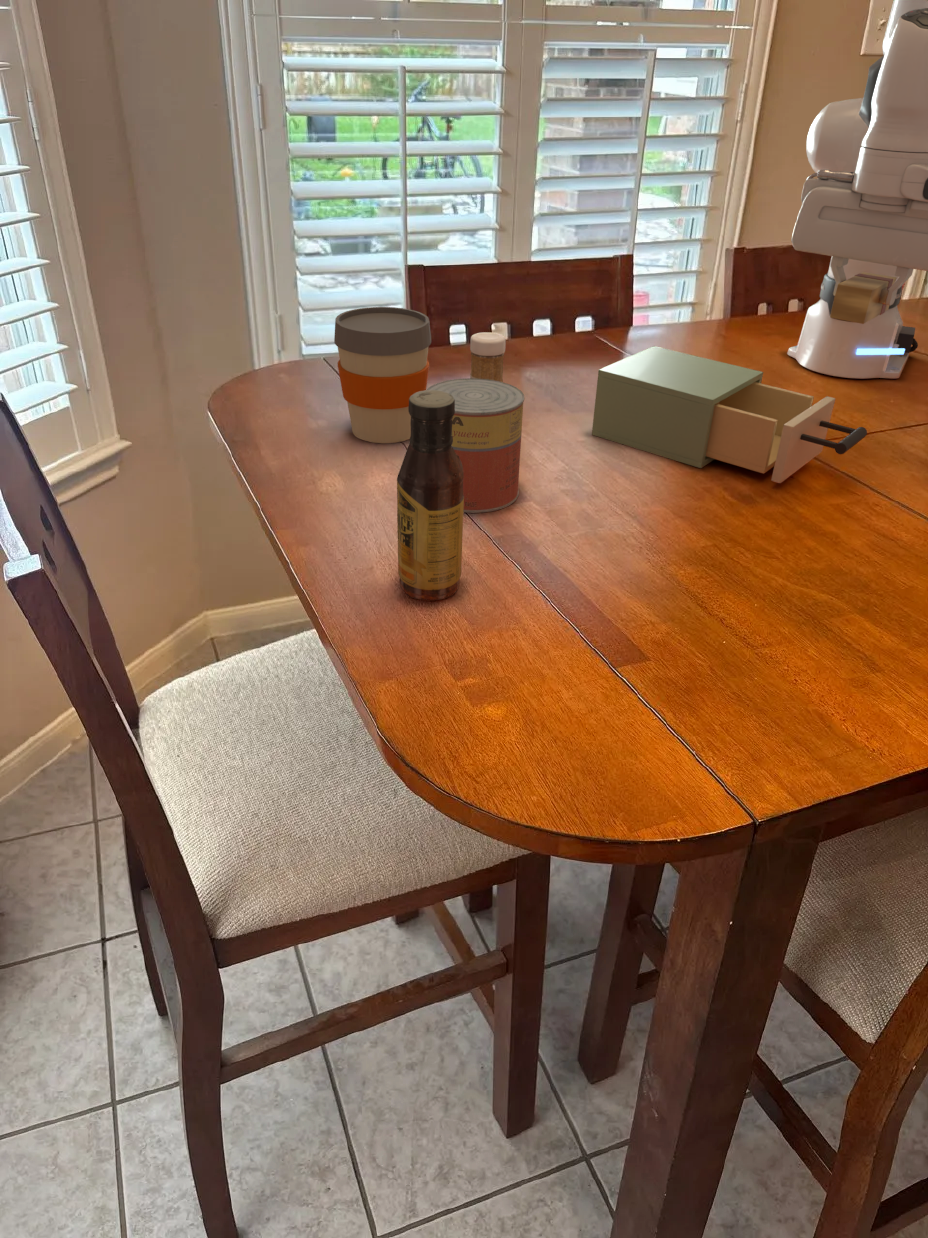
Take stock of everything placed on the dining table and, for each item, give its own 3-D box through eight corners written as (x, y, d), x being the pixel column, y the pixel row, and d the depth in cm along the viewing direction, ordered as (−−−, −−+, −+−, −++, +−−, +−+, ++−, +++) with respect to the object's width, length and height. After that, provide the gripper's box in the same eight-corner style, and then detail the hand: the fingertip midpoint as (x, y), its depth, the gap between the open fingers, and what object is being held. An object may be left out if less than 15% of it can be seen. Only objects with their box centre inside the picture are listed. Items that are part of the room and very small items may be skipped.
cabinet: (750, 436, 127) (763, 371, 122) (700, 468, 117) (713, 399, 112) (645, 407, 135) (654, 345, 130) (591, 434, 126) (598, 369, 121)
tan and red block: (854, 304, 118) (863, 271, 116) (888, 310, 116) (897, 276, 114) (828, 317, 112) (837, 283, 110) (863, 324, 110) (872, 289, 108)
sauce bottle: (397, 572, 94) (394, 382, 83) (458, 571, 94) (463, 382, 83) (399, 607, 88) (395, 408, 77) (464, 605, 89) (469, 408, 78)
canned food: (411, 480, 112) (410, 384, 106) (494, 466, 116) (498, 373, 109) (445, 519, 104) (447, 418, 97) (534, 503, 107) (541, 405, 101)
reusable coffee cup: (450, 431, 126) (451, 320, 117) (382, 456, 118) (379, 339, 110) (387, 407, 133) (385, 301, 125) (320, 429, 125) (312, 318, 117)
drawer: (865, 463, 118) (881, 409, 113) (825, 497, 109) (841, 439, 105) (714, 421, 129) (723, 370, 125) (667, 449, 120) (675, 395, 116)
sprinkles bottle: (507, 437, 124) (513, 338, 117) (479, 444, 122) (483, 343, 115) (488, 426, 127) (492, 329, 120) (461, 432, 125) (463, 333, 118)
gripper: (797, 169, 109) (772, 289, 117) (980, 189, 99) (940, 320, 106) (817, 165, 113) (792, 281, 121) (995, 183, 103) (955, 310, 110)
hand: (863, 299), depth 113 cm, fingers closed on tan and red block, 4 cm apart
